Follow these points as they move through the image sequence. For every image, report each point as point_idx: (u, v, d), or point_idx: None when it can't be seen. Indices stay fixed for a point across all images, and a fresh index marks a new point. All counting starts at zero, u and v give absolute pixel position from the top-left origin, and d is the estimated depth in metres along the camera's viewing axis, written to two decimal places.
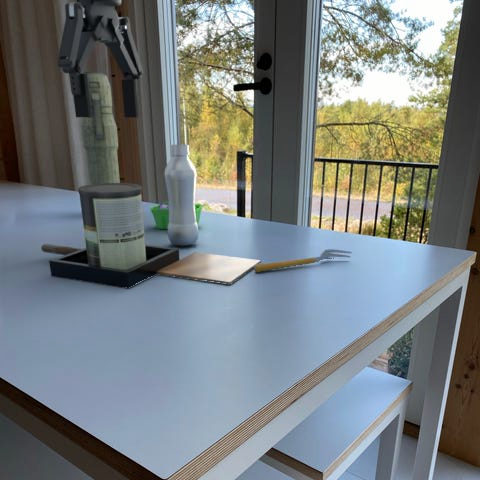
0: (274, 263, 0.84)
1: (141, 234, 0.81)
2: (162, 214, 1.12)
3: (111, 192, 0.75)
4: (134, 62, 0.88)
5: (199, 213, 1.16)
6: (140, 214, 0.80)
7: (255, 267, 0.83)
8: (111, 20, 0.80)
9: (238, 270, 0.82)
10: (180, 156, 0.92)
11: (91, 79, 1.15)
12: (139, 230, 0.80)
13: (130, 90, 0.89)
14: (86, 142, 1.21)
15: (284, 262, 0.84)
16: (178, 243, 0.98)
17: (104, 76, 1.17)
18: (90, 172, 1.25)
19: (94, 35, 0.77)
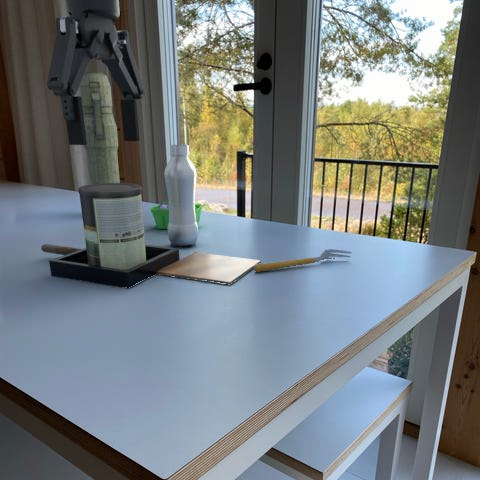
0: (274, 263, 0.84)
1: (140, 234, 0.81)
2: (162, 214, 1.12)
3: (111, 192, 0.75)
4: (134, 80, 0.79)
5: (199, 213, 1.16)
6: (140, 214, 0.80)
7: (255, 267, 0.83)
8: (108, 35, 0.70)
9: (238, 270, 0.82)
10: (180, 156, 0.92)
11: (91, 79, 1.15)
12: (139, 230, 0.80)
13: (130, 111, 0.80)
14: None
15: (284, 262, 0.84)
16: (178, 243, 0.98)
17: (104, 76, 1.17)
18: (90, 172, 1.25)
19: (89, 52, 0.68)
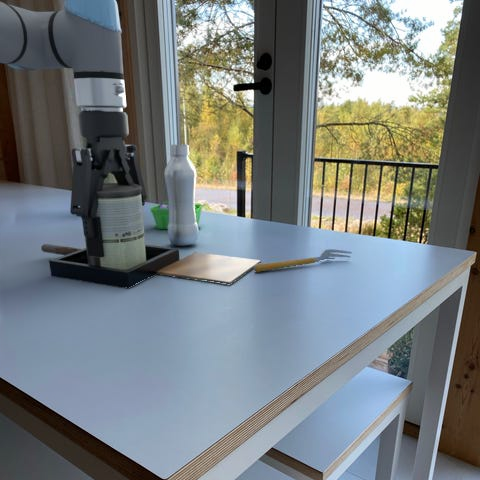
0: (274, 263, 0.84)
1: (140, 234, 0.81)
2: (162, 214, 1.12)
3: (111, 192, 0.75)
4: None
5: (199, 213, 1.16)
6: (140, 214, 0.80)
7: (255, 267, 0.83)
8: (118, 151, 0.77)
9: (238, 270, 0.82)
10: (180, 156, 0.92)
11: None
12: (139, 230, 0.80)
13: None
14: None
15: (284, 262, 0.85)
16: (178, 243, 0.98)
17: None
18: None
19: (103, 174, 0.75)
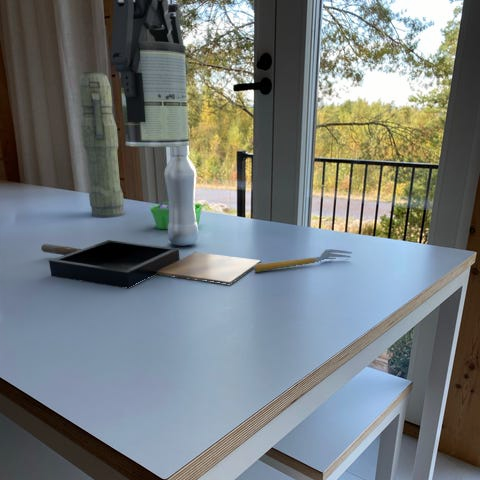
0: (274, 263, 0.84)
1: (184, 101, 0.73)
2: (162, 214, 1.12)
3: (155, 42, 0.67)
4: None
5: (199, 213, 1.16)
6: (184, 77, 0.72)
7: (255, 267, 0.83)
8: (161, 1, 0.69)
9: (238, 270, 0.82)
10: (180, 156, 0.92)
11: (91, 79, 1.15)
12: (183, 96, 0.72)
13: None
14: (86, 142, 1.21)
15: (284, 262, 0.85)
16: (178, 243, 0.98)
17: (104, 76, 1.17)
18: (90, 172, 1.25)
19: (146, 23, 0.67)
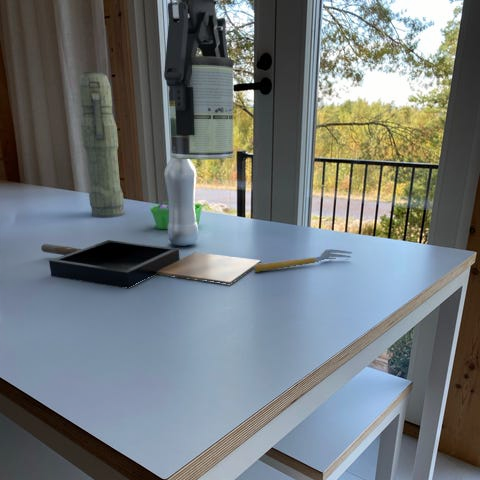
0: (274, 263, 0.84)
1: (231, 114, 0.74)
2: (162, 214, 1.12)
3: (207, 57, 0.68)
4: None
5: (199, 213, 1.16)
6: (232, 91, 0.73)
7: (255, 267, 0.83)
8: (212, 17, 0.70)
9: (238, 270, 0.82)
10: None
11: (91, 79, 1.15)
12: (230, 109, 0.73)
13: None
14: (86, 142, 1.21)
15: (284, 262, 0.85)
16: (178, 243, 0.98)
17: (104, 76, 1.17)
18: (90, 172, 1.25)
19: (198, 38, 0.68)
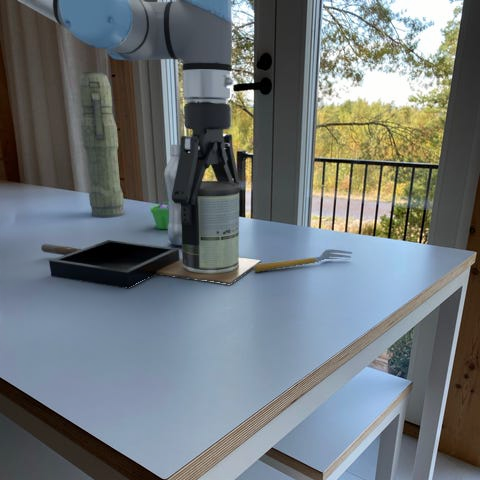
0: (274, 263, 0.84)
1: (237, 232, 0.81)
2: (162, 214, 1.12)
3: (216, 190, 0.75)
4: (232, 175, 0.86)
5: None
6: (238, 212, 0.80)
7: (254, 267, 0.83)
8: (220, 144, 0.77)
9: (238, 270, 0.82)
10: None
11: (91, 79, 1.15)
12: (236, 228, 0.81)
13: None
14: (86, 142, 1.21)
15: (284, 262, 0.85)
16: (178, 243, 0.98)
17: (104, 76, 1.17)
18: (90, 172, 1.25)
19: (206, 164, 0.74)
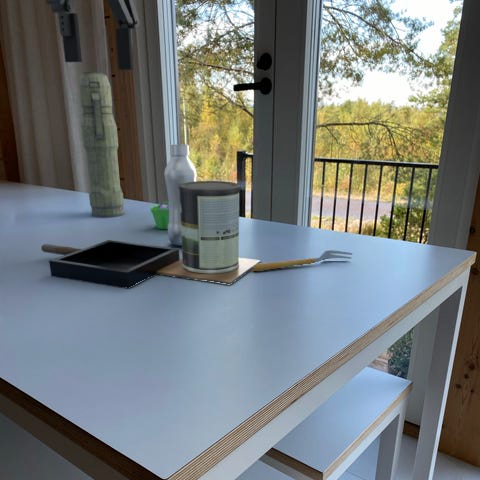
0: (273, 263, 0.84)
1: (237, 232, 0.81)
2: (162, 214, 1.12)
3: (216, 190, 0.75)
4: (129, 10, 0.84)
5: None
6: (238, 212, 0.80)
7: (253, 267, 0.83)
8: None
9: (238, 270, 0.82)
10: (180, 156, 0.92)
11: (91, 79, 1.15)
12: (236, 228, 0.81)
13: (125, 40, 0.84)
14: (86, 142, 1.21)
15: (283, 262, 0.85)
16: (178, 243, 0.98)
17: (104, 76, 1.17)
18: (90, 172, 1.25)
19: None
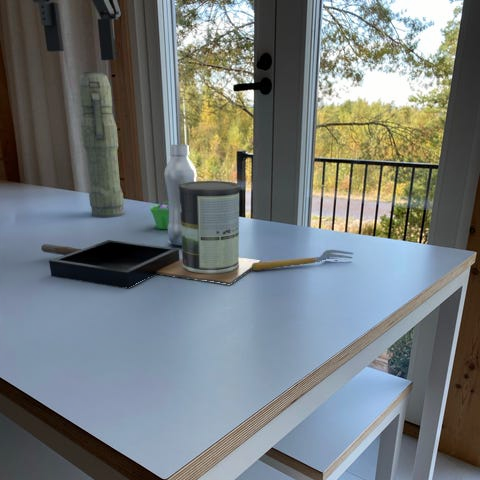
0: (272, 262, 0.84)
1: (237, 232, 0.81)
2: (162, 214, 1.12)
3: (216, 190, 0.75)
4: (110, 0, 0.85)
5: None
6: (238, 212, 0.80)
7: (252, 265, 0.84)
8: None
9: (238, 270, 0.82)
10: (180, 156, 0.92)
11: (91, 79, 1.15)
12: (236, 228, 0.81)
13: (107, 30, 0.86)
14: (86, 142, 1.21)
15: (282, 261, 0.85)
16: (178, 243, 0.98)
17: (104, 76, 1.17)
18: (90, 172, 1.25)
19: None
